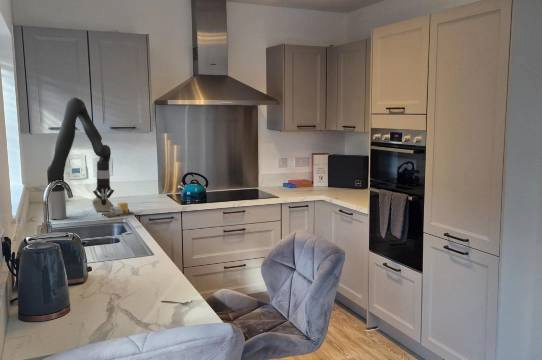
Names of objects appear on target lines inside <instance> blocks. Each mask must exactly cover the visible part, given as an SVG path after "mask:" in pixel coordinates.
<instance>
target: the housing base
mask: <svg viewBox="0 0 542 360" xmlns="http://www.w3.org/2000/svg"><path fill="white" fill-rule="evenodd" d="M129 214H132V215H134V212H133V211H130V208H128V213H126V210H124V213H123V214H113V213H111V212H103V213H102V214H101V215H102V216H103V215H104V216H103V217H105V216H106V218H107V217H108V219H111V218H119V217H125V216H124V215H126V216H130V215H129Z"/></svg>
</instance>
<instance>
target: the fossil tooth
mask: <svg viewBox="0 0 542 360" xmlns="http://www.w3.org/2000/svg"><path fill="white" fill-rule="evenodd" d="M99 196H100V194H99ZM100 197H101V196H100ZM91 201H92V202H91V203H92V206H93V209H94V210H95V212H97V213H99V212H106V213H109V212H110V207H115V206H114V205H113V203H112V202H111V200H109V198H107V199H106V205H102V204H101V199H99V198H98V197H97V196H96V195H95V198H94V199H93V200H91Z"/></svg>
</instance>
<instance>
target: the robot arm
mask: <svg viewBox="0 0 542 360" xmlns="http://www.w3.org/2000/svg"><path fill="white" fill-rule="evenodd" d="M77 119H78V120H79V121H80V123H81V125H82V127H83V131H84V132H85V135H86V136H87V138H88V141H90V144H91V146H92V150H93V152H94V154H95V155H96V156H98V158H99V159H98V161H97V162H96V187H95V188H96V189H95V190H93V191H92V192H93V194H94V195H95V197H96V196H97V197H98V198H99V199H101V204H102V205H106V199H109V198H110V197H111V196H112V195H113V194H114V192H115V190H114V189H112V188H111V185H110V184H111V181H110V177H111V176H110V175H111V174H110V160H111V154H112V151H111V147H110V145H107V144H104V143H103V141H102V140H103V138H102V135H101V134H100V132H99V131H98V129H97V127H96V125H95V124H94V122H93V121H92V119H91V116H90V114H89V112H88V110H87V107H86V104H85V102H84V101H83V100H82V99H80V98H78V97H75V96H73V97H70V98H69V99H68V100H67V101H66V103H65V111H64V114H63V119H62V122H61V125H60V128H59V132H58V135H57V138H56V141H55V146H54V154H53V158H52V161H51V164H50V165H49V166H48V167H47V169H46V174H47V175H46V176H47V186H48V185H49V184H50V183H52V182H53V181H56V180H62V181H64V182H65V169H66V168H65V167H66V163H67V160H68V157H69V154H70V152H71V150H72V147H73V144H74V140H75V137H76V121H77ZM99 195H100V196H101V197H100V196H99ZM48 201H49V202H48V203H49V206H48V218H49V217H50V218H49V219H50V220H52V219H57V220H64V219H66V218H67V204H66V203H67V202H66V201H67V199H66V187H65V188H64V187H63V186H62V185H56V186H55V187H54V188H53V189H52V191H51V192H50V195H49V194H48Z"/></svg>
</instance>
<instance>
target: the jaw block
mask: <svg viewBox="0 0 542 360" xmlns="http://www.w3.org/2000/svg"><path fill="white" fill-rule="evenodd" d="M117 207H119V208H121V209H122V210H123V213H124V210H126V213H128V209H129V208H128V207H129V205H128V202H126V201H123V202H117Z"/></svg>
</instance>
